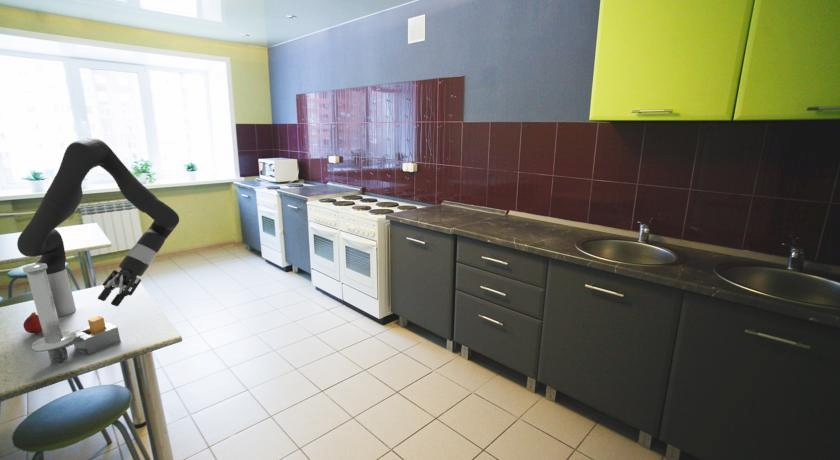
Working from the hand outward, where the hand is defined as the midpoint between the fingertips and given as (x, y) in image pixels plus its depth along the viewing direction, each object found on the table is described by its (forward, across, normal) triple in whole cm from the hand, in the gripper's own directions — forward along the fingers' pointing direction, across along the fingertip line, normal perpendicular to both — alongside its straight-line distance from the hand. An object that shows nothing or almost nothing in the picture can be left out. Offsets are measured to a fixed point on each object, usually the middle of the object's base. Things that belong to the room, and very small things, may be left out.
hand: (107, 302), depth 130 cm
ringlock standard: (+16, 0, +2) cm, 17 cm away
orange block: (+12, 0, +6) cm, 14 cm away
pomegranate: (+17, -27, +2) cm, 32 cm away
